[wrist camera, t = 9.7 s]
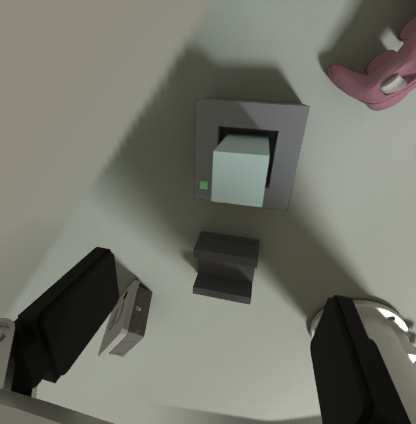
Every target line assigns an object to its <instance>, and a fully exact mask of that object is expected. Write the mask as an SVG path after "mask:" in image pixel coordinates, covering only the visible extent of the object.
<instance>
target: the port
mask: <svg viewBox="0 0 416 424" xmlns="http://www.w3.org/2000/svg"><path fill="white" fill-rule="evenodd" d="M309 108H310V106H307V105H304V104H296V103H279V102H263V101H246V100H229V99H213V98H204V99H196V141H195V184H194V198H195V199H202V200H210V201H211V194H212V172H213V151H214V150H215V149H216V148H217V146H218V145H219V144H220V143H221V142H222V141H223V140H224V138H225V137H226V136H227V134H228V133H229V132H230V131H241V132H256V133H269V153H270V157H269V164H268V170H267V177H266V184H265V190H264V197H263V204H262V207H264V208H271V209H279V210H287V208H288V203H289V199H290V194H291V190H292V185H293V181H294V176H295V171H296V167H297V162H298V158H299V153H300V149H301V144H302V139H303V135H304V130H305V126H306V121H307V117H308V112H309Z"/></svg>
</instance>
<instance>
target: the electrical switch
mask: <svg viewBox="0 0 416 424" xmlns="http://www.w3.org/2000/svg"><path fill="white" fill-rule="evenodd" d="M139 284H140V281H138V280H134V281H133V282H132V283H131V285H130V286H129V287H128V288H127V290H126V291H125V292H124V293H123V295H122V296H121V297H120V298H119V300H118V303H117V304H116V306H115V307H114V309H113V310H112V312H111V315H110V319H109V322H108V325H107V328H106V331H105V334H104V337H103V340H102V344H101V347H100V350H99V354H98V357H101V358H104V357H105V356H106V355H107V354H108V353H109V354H113V355H119V356H122V357H123V356H124V355H125V354H126V353H127V352H128V351H129V350H130V349H131V348H133V347H134V346H135V345H136V344H137V343H138V342H139V341H140V340H141V339H142V338H143V337H144V334H145V329H146V323H147V318H148V313H149V307H150V302H151V297H152V292H151V291H149V290H146V289H144V288H142V287H140V286H139ZM141 304H142V305H141ZM139 308H141V311H139ZM142 335H143V336H142Z"/></svg>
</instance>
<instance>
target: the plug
mask: <svg viewBox="0 0 416 424" xmlns="http://www.w3.org/2000/svg"><path fill="white" fill-rule="evenodd" d="M269 157H270V153H269V133H256V132H241V131H230V132H229V133H228V134H227V136H226V137H225V138H224V140H223V141H222V142H221V143H220V144H219V145H218V146H217V148H216V149H215V150H214V151H213V172H212V194H211V201H212V202H220V203H229V204H237V205H246V206H254V207H262V204H263V197H264V190H265V184H266V177H267V170H268V164H269Z"/></svg>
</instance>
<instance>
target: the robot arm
mask: <svg viewBox="0 0 416 424" xmlns="http://www.w3.org/2000/svg"><path fill="white" fill-rule="evenodd" d="M118 300H119V291H118V283H117V275H116V267H115V260H114V254H113V253H111V250H110V249H106V248H101V247H96V248H95V249H93V250H92V251H91V252H90V253H89V254H88V255H87V256H85V257H84V258H83V259H82V260H81V261H80V262H79V263H77V264H76V265H75V266H74V267H73V268H72V269H71V270H69V271H68V272H67V273H66V274H65V275H64V276H63V277H61V278H60V279H59V280H58V281H57V282H56V283H55V284H53V285H52V286H51V287H50V288H49V289H48V290H47V291H46V292H44V293H43V294H42V295H41V296H40V297H39V298H38V299H36V300H35V301H34V302H33V303H32V304H31V305H30V306H28V307H27V308H26V309H25V310H24V311H23V312H22V313H20V314H19V315H18V319H16V320H15V321H14V322H13V321H12V320H10V319H8V318H0V424H113V423H110V422H107V421H104V420H101V419H98V418H95V417H92V416H89V415H86V414H83V413H80V412H77V411H73V410H71V409H68V408H65V407H61V406H58V405H55V404H52V403H49V402H46V401H43V400H39V399H36V394H37V385H38V384H39V383H40V382H41V380H42V379H43V380H46V381H50V382H53V383H56V382H57V380H58V379H59V377H60V376H61V375H64V374H66V372H67V371H68V370H69V369H70V368H71V366H72V365H73V363H74V362H75V361H76V359H77V358H78V357H79V355H80V354H81V352H82V351H83V350H84V348H85V347H86V346H87V344H88V343H89V342H90V340H91V339H92V337H93V336H94V335H95V333H96V332H97V331H98V329H99V328H100V326H101V325H102V324H103V322H104V321H105V320H106V318H107V317H108V315H109V314H110V313H111V311H112V310H113V309H114V307H115V306H116V304H117V303H118ZM310 332H311V338H312V341H311V346H310V350H311V357H312V363H313V369H314V375H315V381H316V387H317V393H318V399H319V404H320V410H321V416H322V422H323V424H416V348H415V347H414V346H413V345H412V344H411V343H410V342H409V330H408V327H407V325H406V323H405V322H404V320H403V318H402V317H401V316H400V315H399V314H398V313H397V312H396V311H394V310H393V309H392V308H390V307H388V306H386V305H383V304H380V303H377V302H373V301H367V300H352V299H351V298H348V297H343V296H338V295H334V296H333V298H328V300H327V303H326V305H325V308H324V309H322V310H321V311H320V312H319V313H317V314H316V316H315V317H314V318H313V320H312V322H311V326H310Z"/></svg>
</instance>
